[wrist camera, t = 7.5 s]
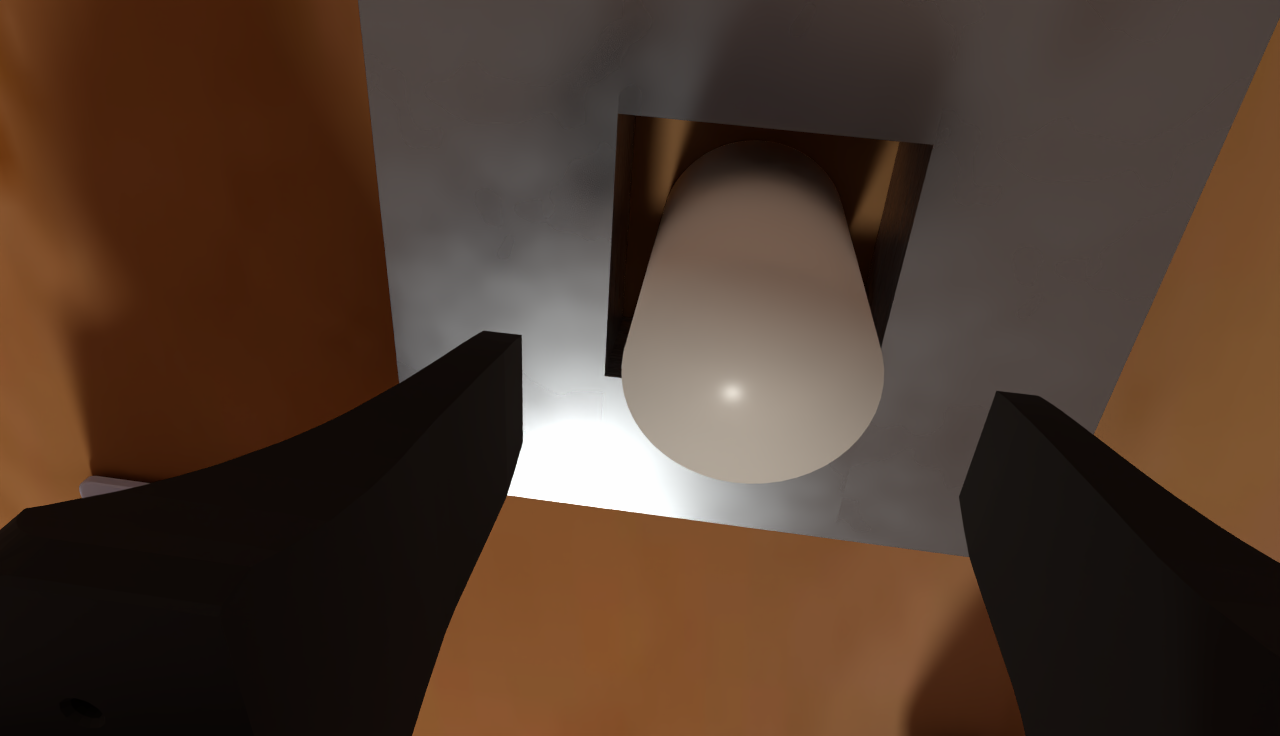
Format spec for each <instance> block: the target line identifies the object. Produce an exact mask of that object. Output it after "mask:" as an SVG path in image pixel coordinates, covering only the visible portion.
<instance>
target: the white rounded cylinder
mask: <svg viewBox="0 0 1280 736" xmlns="http://www.w3.org/2000/svg"><path fill="white" fill-rule="evenodd" d="M621 367H622V386H623V392H624V396H625V399H626V402H627V406H628V408H629V410H630V413H631V415H632V417H633V419H634V421H635V422H636V424H637V425H638V427H639V428H640V430H641V431H642V433H643V434H644V435H645V436H646V437H647V439H648V440H649V441H650V442H651V443H652V444H653V445H654V446H655V447H656V448H657V449H658V450H660V451H661V452H662V453H663V454H664V455H666V456H667V457H669V458H670V459H671V460H673V461H674V462H676V463H678V464H680V465H681V466H683V467H685V468H687V469H689V470H691V471H694V472H696V473H698V474H701V475H704V476H707V477H710V478H714V479H717V480H722V481H727V482H733V483H745V484H763V483H772V482H780V481H785V480H789V479H793V478H797V477H800V476H803V475H806V474H809V473H811V472H813V471H815V470H817V469H820V468H822V467H824V466H826V465H827V464H829V463H830V462H832V461H834V460H835V459H837V458H838V457H839V456H841V455H842V454H843V453H844V452H846V451H847V450H848V449H849V448H850V447H851V446H852V445H853V444H854V443H855V442H856V441H857V440H858V439H859V438H860V437H861V435H862V434H863V433H864V431H865V430H866V429H867V427H868V426H869V424H870V422H871V420H872V419H873V417H874V415H875V413H876V411H877V408H878V405H879V402H880V399H881V395H882V390H883V385H884V364H883V356H882V351H881V347H880V344H879V340H878V336H877V332H876V329H875V325H874V321H873V318H872V314H871V310H870V306H869V303H868V299H867V295H866V292H865V288H864V284H863V281H862V277H861V273H860V269H859V266H858V262H857V258H856V255H855V251H854V247H853V243H852V240H851V236H850V232H849V229H848V225H847V221H846V217H845V214H844V210H843V206H842V203H841V199H840V196H839V194H838V192H837V189H836V187H835V185H834V184H833V182H832V180H831V179H830V177H829V176H828V174H827V173H826V172H825V171H824V170H823V169H822V168H821V166H819V165H818V164H817V163H816V162H815V161H814V160H813V159H811V158H810V157H808V156H807V155H805V154H804V153H802V152H801V151H798V150H796V149H794V148H792V147H790V146H787V145H784V144H780V143H777V142H771V141H764V140H748V141H739V142H734V143H730V144H726V145H724V146H721V147H718V148H716V149H714V150H712V151H710V152H708V153H706V154H704V155H703V156H701V157H700V158H698V159H697V160H696V161H694V162H693V163H692V164H691V165H690V166H689V167H688V168H687V169H686V170H685V171H684V172H683V173H682V174H681V176H680V177H679V178H678V180H677V181H676V183H675V184H674V186H673V187H672V189H671V191H670V194H669V196H668V198H667V201H666V204H665V207H664V211H663V214H662V218H661V221H660V225H659V228H658V232H657V235H656V239H655V242H654V246H653V249H652V253H651V257H650V260H649V264H648V267H647V271H646V274H645V278H644V281H643V285H642V288H641V292H640V295H639V299H638V302H637V306H636V309H635V313H634V316H633V320H632V323H631V327H630V330H629V334H628V338H627V341H626V345H625V348H624V352H623V359H622V365H621Z"/></svg>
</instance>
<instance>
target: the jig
mask: <svg viewBox="0 0 1280 736" xmlns="http://www.w3.org/2000/svg"><path fill="white" fill-rule="evenodd" d="M358 4H359V13H360V23H361V32H362V41H363V51H364V60H365V69H366V78H367V88H368V97H369V106H370V116H371V125H372V134H373V144H374V153H375V162H376V171H377V181H378V190H379V199H380V209H381V218H382V227H383V236H384V246H385V255H386V264H387V274H388V283H389V292H390V302H391V311H392V320H393V329H394V339H395V348H396V357H397V367H398V376H399V383H401V382H402V381H404V380H406V379H407V378H409V377H410V376H412V375H414V374H415V373H417V372H418V371H420V370H422V369H423V368H425V367H426V366H428V365H429V364H431V363H433V362H434V361H436V360H437V359H439V358H440V357H442V356H444V355H445V354H447V353H448V352H450V351H451V350H453V349H454V348H456V347H457V346H459V345H460V344H462V343H463V342H465V341H467V340H468V339H470V338H471V337H473V336H475V335H476V334H478V333H480V332H482V331H492V332H501V333H509V334H518V335H522V388H523V444H522V447H521V451H520V454H519V458H518V461H517V465H516V468H515V472H514V475H513V478H512V481H511V485H510V488H509V491H508V494H507V495H511V496H519V497H526V498H534V499H541V500H549V501H556V502H563V503H571V504H578V505H586V506H593V507H601V508H608V509H615V510H623V511H630V512H638V513H645V514H653V515H660V516H667V517H675V518H682V519H690V520H697V521H705V522H712V523H720V524H727V525H734V526H742V527H749V528H757V529H764V530H772V531H779V532H786V533H794V534H801V535H809V536H816V537H824V538H831V539H839V540H846V541H853V542H861V543H868V544H876V545H883V546H891V547H898V548H905V549H913V550H920V551H928V552H935V553H943V554H950V555H957V556H965V557H969V554H968V548H967V543H966V538H965V533H964V527H963V521H962V514H961V508H960V501H959V495H960V492H961V489H962V487H963V484H964V481H965V478H966V475H967V472H968V470H969V467H970V464H971V461H972V458H973V456H974V453H975V450H976V447H977V444H978V441H979V439H980V436H981V433H982V430H983V427H984V424H985V422H986V419H987V416H988V413H989V410H990V407H991V405H992V402H993V399H994V396H995V393H996V391H1003V392H1012V393H1020V394H1029V395H1037V396H1040V397H1042V398H1043V399H1045V400H1047V401H1048V402H1050V403H1051V404H1053V405H1054V406H1056V407H1057V408H1058V409H1060V410H1061V411H1063V412H1064V413H1065V414H1067V415H1068V416H1069V417H1071V418H1072V419H1073V420H1075V421H1076V422H1077V423H1079V424H1080V425H1081V426H1083V427H1084V428H1085V429H1087V430H1088V431H1089V432H1090V433H1092V434H1094V432H1095V430H1096V428H1097V426H1098V423H1099V421H1100V419H1101V417H1102V414H1103V412H1104V410H1105V408H1106V405H1107V403H1108V401H1109V399H1110V396H1111V394H1112V392H1113V390H1114V387H1115V385H1116V383H1117V381H1118V378H1119V376H1120V374H1121V372H1122V370H1123V367H1124V365H1125V363H1126V361H1127V358H1128V356H1129V354H1130V352H1131V349H1132V347H1133V345H1134V343H1135V340H1136V338H1137V336H1138V334H1139V331H1140V329H1141V327H1142V325H1143V323H1144V320H1145V318H1146V316H1147V314H1148V311H1149V309H1150V307H1151V305H1152V302H1153V300H1154V298H1155V296H1156V293H1157V291H1158V289H1159V287H1160V284H1161V282H1162V280H1163V278H1164V275H1165V273H1166V271H1167V269H1168V267H1169V264H1170V262H1171V260H1172V258H1173V255H1174V253H1175V251H1176V249H1177V246H1178V244H1179V242H1180V240H1181V237H1182V235H1183V233H1184V231H1185V228H1186V226H1187V224H1188V222H1189V220H1190V217H1191V215H1192V213H1193V211H1194V208H1195V206H1196V204H1197V202H1198V199H1199V197H1200V195H1201V193H1202V190H1203V188H1204V186H1205V184H1206V181H1207V179H1208V177H1209V175H1210V172H1211V170H1212V168H1213V166H1214V164H1215V161H1216V159H1217V157H1218V155H1219V152H1220V150H1221V148H1222V146H1223V143H1224V141H1225V139H1226V137H1227V134H1228V132H1229V130H1230V128H1231V125H1232V123H1233V121H1234V119H1235V117H1236V114H1237V112H1238V110H1239V108H1240V105H1241V103H1242V101H1243V99H1244V96H1245V94H1246V92H1247V90H1248V87H1249V85H1250V83H1251V81H1252V78H1253V76H1254V74H1255V72H1256V69H1257V67H1258V65H1259V63H1260V61H1261V58H1262V56H1263V54H1264V52H1265V49H1266V47H1267V45H1268V43H1269V40H1270V38H1271V36H1272V34H1273V31H1274V29H1275V27H1276V25H1277V22H1278V20H1279V18H1280V0H358ZM635 115H638V116H648V117H658V118H668V119H678V120H689V121H699V122H709V123H719V124H729V125H739V126H749V127H759V128H769V129H779V130H789V131H800V132H810V133H820V134H830V135H840V136H850V137H860V138H870V139H880V140H890V141H900V143H899V147H898V151H897V156H896V160H895V164H894V168H893V173H892V177H891V181H890V185H889V190H888V194H887V198H886V202H885V207H884V211H883V215H882V219H881V224H880V228H879V232H878V236H877V241H876V245H875V249H874V253H873V258H872V262H871V266H870V270H869V275H868V279H867V283H866V287H865V292H866V295H867V299H868V303H869V306H870V310H871V314H872V318H873V321H874V325H875V329H876V332H877V336H878V340H879V344H880V347H881V351H882V356H883V364H884V385H883V390H882V395H881V399H880V402H879V405H878V408H877V411H876V413H875V415H874V417H873V419H872V420H871V422H870V424H869V426H868V427H867V429H866V430H865V431H864V433H863V434H862V435H861V437H860V438H859V439H858V440H857V441H856V442H855V443H854V444H853V445H852V446H851V447H850V448H849V449H848V450H847V451H846V452H844V453H843V454H842V455H841V456H839V457H838V458H837V459H835V460H834V461H832V462H830V463H829V464H827V465H826V466H824V467H822V468H820V469H817V470H815V471H813V472H811V473H809V474H806V475H803V476H800V477H797V478H793V479H789V480H785V481H780V482H772V483H763V484H745V483H733V482H727V481H722V480H717V479H714V478H710V477H707V476H704V475H701V474H698V473H696V472H694V471H691V470H689V469H687V468H685V467H683V466H681V465H680V464H678V463H676V462H674V461H673V460H671V459H670V458H669V457H667V456H666V455H664V454H663V453H662V452H661V451H660V450H658V449H657V448H656V447H655V446H654V445H653V444H652V443H651V442H650V441H649V440H648V439H647V437H646V436H645V435H644V434H643V433H642V431H641V430H640V428H639V427H638V425H637V424H636V422H635V421H634V419H633V417H632V415H631V413H630V410H629V408H628V406H627V402H626V399H625V396H624V392H623V386H622V367H621V365H622V359H623V352H624V348H625V345H626V341H627V338H628V334H629V330H630V327H631V323H632V320H633V318H628V317H623V305H624V289H625V273H626V256H627V240H628V224H629V208H630V192H631V176H632V160H633V143H634V127H635Z"/></svg>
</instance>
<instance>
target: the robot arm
mask: <svg viewBox="0 0 1280 736" xmlns="http://www.w3.org/2000/svg"><path fill="white" fill-rule="evenodd" d="M522 444H523V388H522V335H518V334H509V333H501V332H492V331H482V332H480V333H478V334H476V335H475V336H473V337H471V338H470V339H468V340H467V341H465V342H463V343H462V344H460V345H459V346H457V347H456V348H454V349H453V350H451V351H450V352H448V353H447V354H445V355H444V356H442V357H440V358H439V359H437V360H436V361H434V362H433V363H431V364H429V365H428V366H426V367H425V368H423V369H422V370H420V371H418V372H417V373H415V374H414V375H412V376H410V377H409V378H407V379H406V380H404V381H402V382H401V383H399V384H397V385H396V386H394V387H392V388H390V389H388V390H387V391H385V392H383V393H381V394H379V395H378V396H376V397H374V398H372V399H371V400H369V401H367V402H365V403H363V404H362V405H360V406H358V407H356V408H354V409H353V410H351V411H349V412H347V413H345V414H343V415H341V416H339V417H337V418H335V419H333V420H331V421H328V422H326V423H324V424H322V425H320V426H318V427H315V428H313V429H311V430H308V431H306V432H304V433H302V434H299V435H297V436H295V437H292V438H290V439H287V440H285V441H283V442H280V443H277V444H274V445H272V446H269V447H266V448H263V449H260V450H258V451H255V452H252V453H249V454H246V455H243V456H241V457H238V458H235V459H232V460H229V461H227V462H224V463H221V464H218V465H215V466H211V467H208V468H205V469H201V470H198V471H194V472H191V473H187V474H184V475H181V476H177V477H173V478H169V479H165V480H161V481H158V482H154V483H145V482H138V481H130V480H123V479H116V478H109V477H101V476H90V477H88V478H87V479H85V480H84V481H83V482H82V483H81V484H80V486H79V490H80V494H81V496H82V498H80V499H75V500H70V501H65V502H60V503H55V504H50V505H44V506H38V507H32V508H26V509H24V510H23V511H22V512H20V513H19V514H18V515H17V516H16V517H15V518H14V519H12V520H11V521H10V522H9V523H8V524H7V525H5V526H4V527H3V528H2V529H1V530H0V736H412V734H413V731H414V727H415V724H416V721H417V718H418V715H419V712H420V708H421V705H422V702H423V699H424V696H425V692H426V689H427V686H428V683H429V680H430V677H431V674H432V671H433V668H434V665H435V662H436V659H437V656H438V653H439V650H440V647H441V644H442V641H443V638H444V636H445V633H446V630H447V628H448V625H449V623H450V620H451V618H452V615H453V613H454V610H455V608H456V606H457V604H458V601H459V599H460V597H461V595H462V593H463V591H464V588H465V586H466V584H467V582H468V580H469V578H470V575H471V573H472V571H473V569H474V567H475V565H476V562H477V560H478V558H479V556H480V554H481V552H482V549H483V547H484V545H485V543H486V541H487V539H488V536H489V534H490V532H491V530H492V528H493V525H494V523H495V521H496V519H497V517H498V514H499V512H500V510H501V508H502V506H503V503H504V501H505V499H506V496H507V494H508V491H509V488H510V485H511V481H512V478H513V475H514V472H515V468H516V465H517V461H518V458H519V454H520V451H521V447H522ZM959 501H960V508H961V514H962V521H963V527H964V533H965V538H966V543H967V548H968V554H969V557H970V560H971V564H972V567H973V570H974V573H975V576H976V579H977V582H978V585H979V588H980V591H981V594H982V597H983V600H984V603H985V606H986V609H987V612H988V615H989V618H990V621H991V624H992V627H993V630H994V633H995V635H996V638H997V641H998V644H999V647H1000V650H1001V653H1002V656H1003V659H1004V662H1005V665H1006V668H1007V671H1008V674H1009V677H1010V679H1011V682H1012V685H1013V689H1014V692H1015V696H1016V699H1017V703H1018V706H1019V710H1020V713H1021V717H1022V721H1023V726H1024V730H1025V735H1026V736H1280V563H1278V562H1277V561H1275V560H1273V559H1272V558H1270V557H1268V556H1267V555H1265V554H1263V553H1262V552H1260V551H1258V550H1257V549H1255V548H1253V547H1252V546H1250V545H1248V544H1246V543H1245V542H1243V541H1241V540H1240V539H1238V538H1237V537H1235V536H1234V535H1232V534H1230V533H1229V532H1227V531H1226V530H1224V529H1223V528H1221V527H1220V526H1218V525H1216V524H1215V523H1213V522H1212V521H1211V520H1209V519H1208V518H1206V517H1205V516H1203V515H1202V514H1200V513H1199V512H1197V511H1196V510H1195V509H1193V508H1192V507H1190V506H1189V505H1187V504H1186V503H1184V502H1183V501H1181V500H1180V499H1178V498H1177V497H1176V496H1174V495H1173V494H1171V493H1170V492H1169V491H1167V490H1166V489H1164V488H1163V487H1162V486H1160V485H1159V484H1158V483H1156V482H1155V481H1153V480H1152V479H1151V478H1149V477H1148V476H1147V475H1145V474H1144V473H1143V472H1141V471H1140V470H1139V469H1137V468H1136V467H1135V466H1133V465H1132V464H1131V463H1129V462H1128V461H1127V460H1126V459H1124V458H1123V457H1122V456H1120V455H1119V454H1118V453H1116V452H1115V451H1114V450H1112V449H1111V448H1110V447H1109V446H1107V445H1106V444H1105V443H1103V442H1102V441H1101V440H1100V439H1098V438H1097V437H1096V436H1094V435H1093V434H1092V433H1090V432H1089V431H1088V430H1087V429H1085V428H1084V427H1083V426H1081V425H1080V424H1079V423H1077V422H1076V421H1075V420H1073V419H1072V418H1071V417H1069V416H1068V415H1067V414H1065V413H1064V412H1063V411H1061V410H1060V409H1058V408H1057V407H1056V406H1054V405H1053V404H1051V403H1050V402H1048V401H1047V400H1045V399H1043V398H1042V397H1040V396H1037V395H1029V394H1020V393H1012V392H1003V391H996V393H995V396H994V399H993V402H992V405H991V407H990V410H989V413H988V416H987V419H986V422H985V424H984V427H983V430H982V433H981V436H980V439H979V441H978V444H977V447H976V450H975V453H974V456H973V458H972V461H971V464H970V467H969V470H968V472H967V475H966V478H965V481H964V484H963V487H962V489H961V492H960V495H959Z"/></svg>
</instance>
